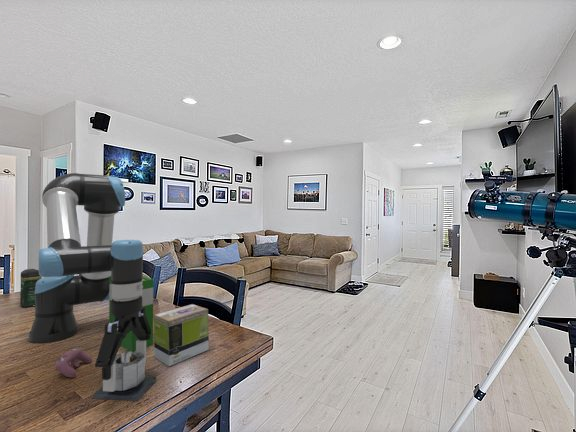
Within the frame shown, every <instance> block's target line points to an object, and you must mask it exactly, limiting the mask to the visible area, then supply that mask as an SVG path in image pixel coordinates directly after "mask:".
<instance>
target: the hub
mask: <svg viewBox="0 0 576 432" xmlns="http://www.w3.org/2000/svg"><path fill="white" fill-rule="evenodd" d="M132 356H133V362H130V363H126V364H121V353H119V354H117V355H116V357H115V360H114V362H113V364H115V390H116V391H122V390H123V391H124V390H127V389H130V388H132V387H135V386H138V385H139V384H140V383H141V382H142V381H143V380H144V379H145V376H146V363H145V356H144V355H143V353H142V352H136V351H135V352H132Z"/></svg>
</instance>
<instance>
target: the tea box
mask: <svg viewBox="0 0 576 432" xmlns="http://www.w3.org/2000/svg"><path fill="white" fill-rule="evenodd" d="M209 330H210V329H209V309H208V308H206V307H202V306H199V305H196V304H194V303H191V304H188V305H184V306H180V307H177V308H173V309H169V310H166V311H162V312H159V313H158V312H157V313H153V347H154V348H153V355H154V357H155V359H157V360H158V361H160V362H162V363H163V364H165V365H166V366H168V367H171V366H173V365H176V364H178V363H181V362H183V361H185V360H187V359H190V358H192V357H195V356H197V355H199V354H201V353H204V352H207V351H208V350H209V349H210V347H209V346H210V342H209ZM209 351H210V350H209Z"/></svg>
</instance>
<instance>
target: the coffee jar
mask: <svg viewBox="0 0 576 432" xmlns="http://www.w3.org/2000/svg"><path fill="white" fill-rule="evenodd" d="M41 278H43V277H41V276H40V275H39V269H35V268H28V269H27V268H26V269H24V270H22V271H21V272H20V297H19V300H20V302H19V303H20V307H22V306H24V307H23V308H28V307H27V306H33V305H35V288H36V282H37V281H38V280H39V279H41Z"/></svg>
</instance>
